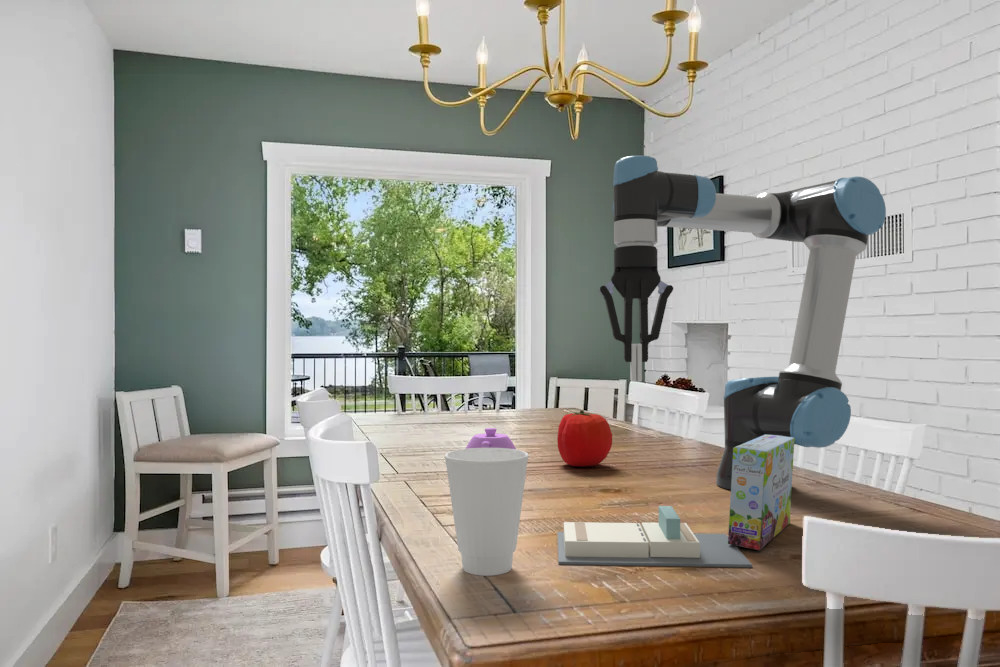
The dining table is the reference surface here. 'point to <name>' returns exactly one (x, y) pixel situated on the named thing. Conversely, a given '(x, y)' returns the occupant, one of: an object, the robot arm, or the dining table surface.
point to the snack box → (760, 490)
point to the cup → (486, 505)
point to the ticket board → (637, 547)
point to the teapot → (490, 440)
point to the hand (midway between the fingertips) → (636, 380)
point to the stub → (670, 536)
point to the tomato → (584, 439)
